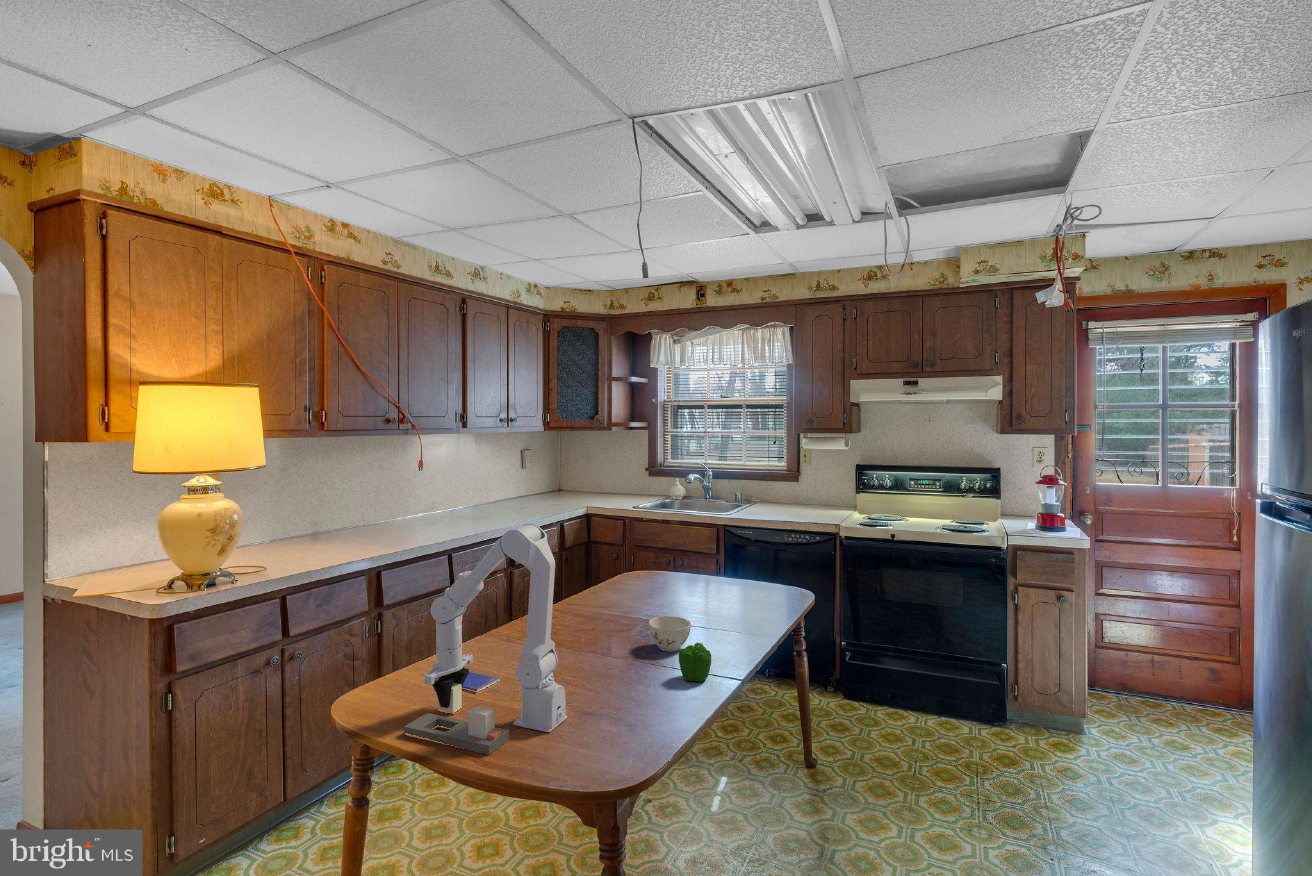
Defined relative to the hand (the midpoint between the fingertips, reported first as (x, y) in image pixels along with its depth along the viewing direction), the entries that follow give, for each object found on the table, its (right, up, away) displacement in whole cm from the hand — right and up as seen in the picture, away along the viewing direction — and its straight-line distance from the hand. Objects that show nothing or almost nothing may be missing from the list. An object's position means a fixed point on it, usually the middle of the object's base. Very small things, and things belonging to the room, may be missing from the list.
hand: (449, 703), depth 154 cm
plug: (0, -2, 0) cm, 2 cm away
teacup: (+53, 0, +42) cm, 68 cm away
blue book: (0, -2, +16) cm, 16 cm away
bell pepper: (+58, -1, +18) cm, 61 cm away
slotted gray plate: (+5, -2, -13) cm, 14 cm away
